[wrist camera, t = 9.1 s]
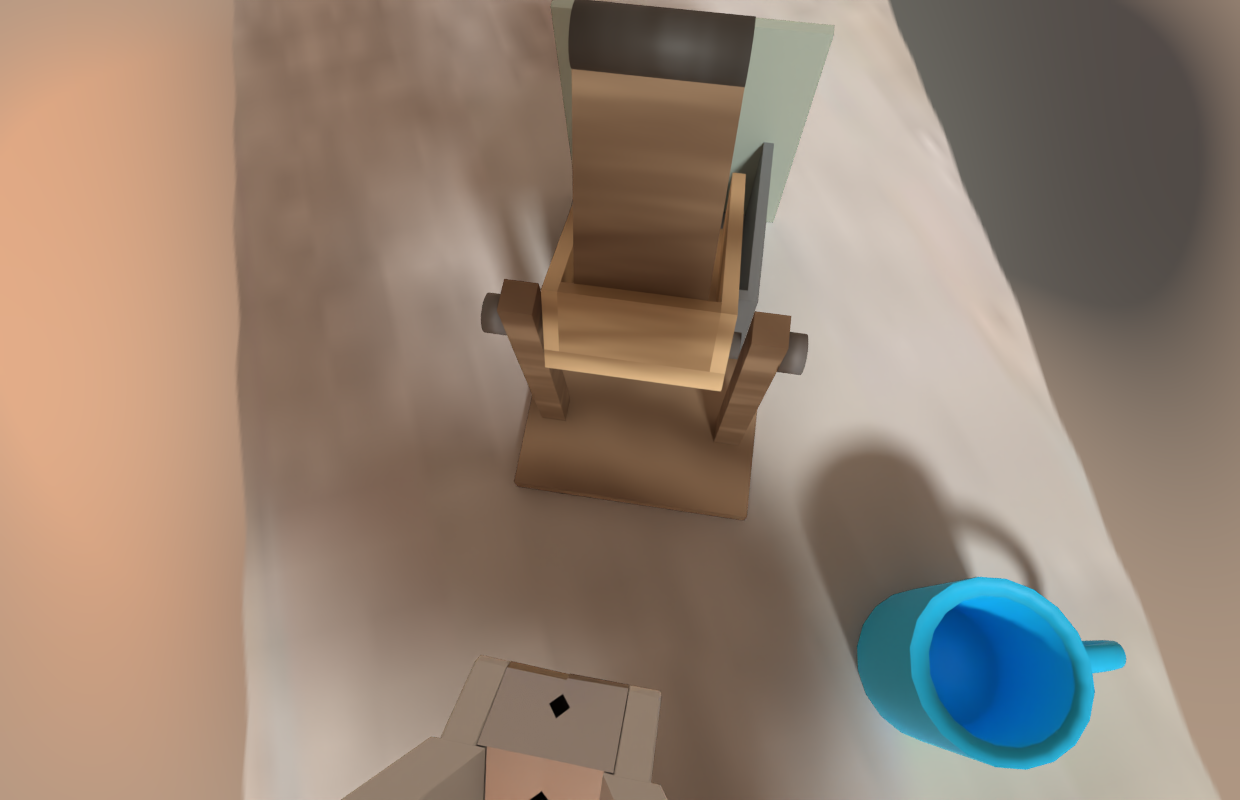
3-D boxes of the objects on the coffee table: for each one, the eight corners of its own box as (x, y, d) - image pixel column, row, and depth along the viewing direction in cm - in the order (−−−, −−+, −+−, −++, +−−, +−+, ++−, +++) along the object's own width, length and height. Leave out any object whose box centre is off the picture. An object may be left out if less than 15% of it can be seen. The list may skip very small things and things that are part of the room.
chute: (733, 413, 29) (824, 40, 18) (530, 385, 29) (500, 7, 19) (741, 268, 35) (811, -66, 25) (576, 248, 36) (573, -88, 25)
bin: (759, 361, 45) (820, 221, 30) (549, 332, 46) (506, 183, 31) (773, 215, 49) (834, 25, 34) (578, 192, 50) (552, -3, 35)
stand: (745, 520, 42) (806, 452, 27) (515, 485, 43) (450, 401, 28) (760, 368, 45) (821, 231, 30) (546, 339, 46) (502, 192, 31)
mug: (872, 750, 38) (932, 777, 30) (844, 595, 41) (892, 584, 33) (1091, 730, 38) (1206, 753, 30) (1048, 577, 41) (1144, 562, 33)
